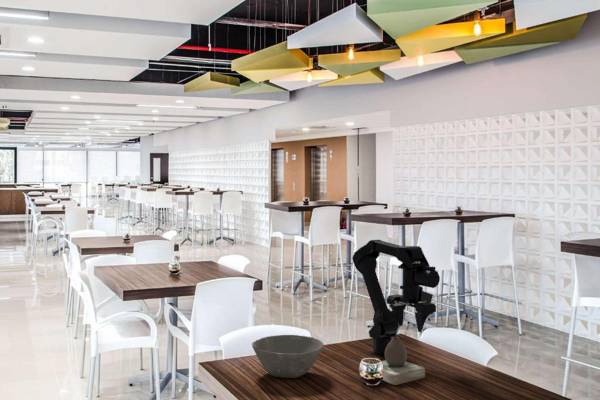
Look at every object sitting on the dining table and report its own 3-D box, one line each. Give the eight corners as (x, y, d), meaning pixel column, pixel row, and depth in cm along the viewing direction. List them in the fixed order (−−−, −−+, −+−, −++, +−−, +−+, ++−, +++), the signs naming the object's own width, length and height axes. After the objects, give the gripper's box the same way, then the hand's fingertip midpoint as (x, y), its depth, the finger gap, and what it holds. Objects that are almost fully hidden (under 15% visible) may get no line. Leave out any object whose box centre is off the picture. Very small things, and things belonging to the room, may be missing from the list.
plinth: (366, 373, 180) (366, 363, 180) (395, 366, 187) (395, 357, 187) (395, 385, 169) (395, 374, 169) (425, 377, 176) (425, 367, 176)
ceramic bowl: (254, 363, 190) (254, 334, 190) (321, 364, 190) (322, 334, 190) (248, 386, 167) (248, 353, 167) (325, 386, 168) (325, 353, 168)
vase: (406, 369, 174) (406, 341, 174) (384, 368, 175) (384, 340, 175) (406, 362, 181) (406, 335, 181) (385, 361, 182) (385, 334, 182)
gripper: (448, 285, 186) (447, 332, 186) (409, 277, 202) (409, 320, 202) (423, 288, 180) (422, 336, 181) (386, 279, 196) (385, 323, 197)
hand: (410, 328), depth 190 cm, fingers open, 9 cm apart
